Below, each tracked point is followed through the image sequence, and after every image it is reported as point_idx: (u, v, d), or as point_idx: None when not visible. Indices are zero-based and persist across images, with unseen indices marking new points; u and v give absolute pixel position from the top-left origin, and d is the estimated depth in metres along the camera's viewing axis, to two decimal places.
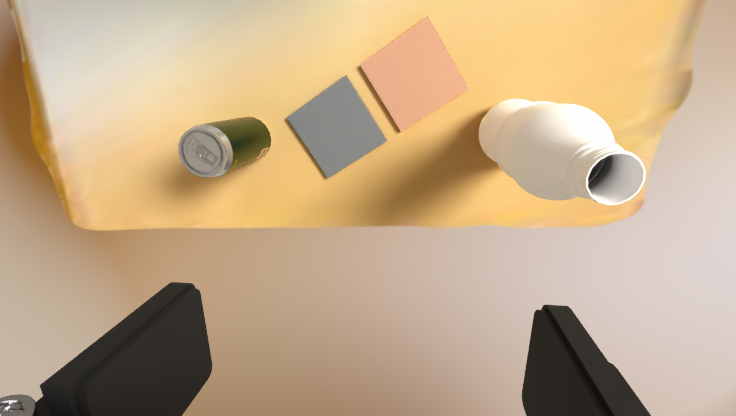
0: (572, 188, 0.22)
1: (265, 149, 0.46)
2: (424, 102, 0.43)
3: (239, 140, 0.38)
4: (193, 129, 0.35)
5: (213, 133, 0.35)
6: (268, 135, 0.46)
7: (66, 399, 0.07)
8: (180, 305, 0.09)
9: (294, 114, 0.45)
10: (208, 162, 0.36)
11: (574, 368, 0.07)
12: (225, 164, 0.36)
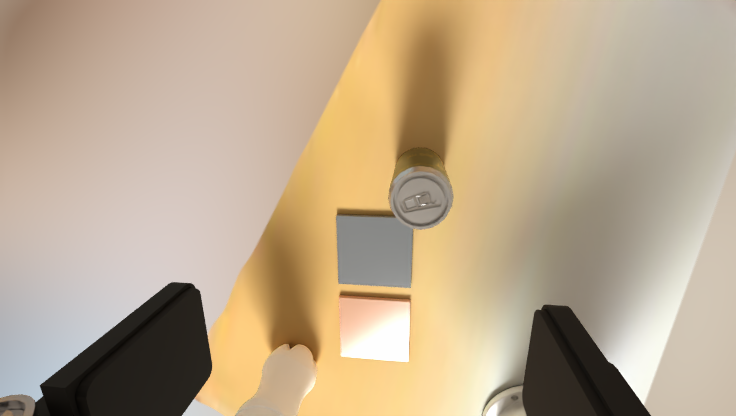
0: None
1: None
2: (350, 326, 0.48)
3: None
4: (447, 211, 0.30)
5: (429, 227, 0.30)
6: None
7: (66, 399, 0.07)
8: (180, 305, 0.09)
9: None
10: (407, 198, 0.30)
11: (574, 368, 0.07)
12: (394, 213, 0.31)
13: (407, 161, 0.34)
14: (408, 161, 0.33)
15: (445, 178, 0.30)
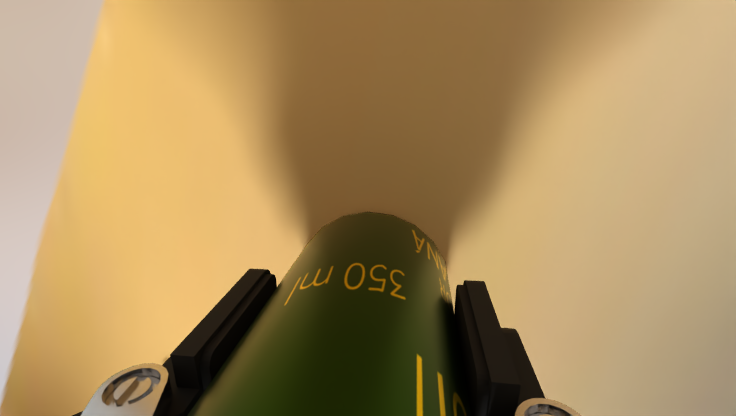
0: None
1: None
2: None
3: None
4: None
5: None
6: None
7: (192, 367, 0.07)
8: (263, 289, 0.10)
9: None
10: None
11: (470, 328, 0.08)
12: None
13: (256, 351, 0.06)
14: (254, 360, 0.06)
15: None
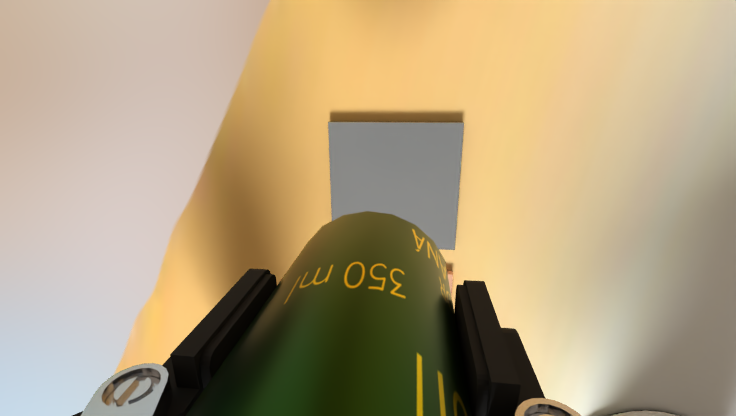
0: None
1: None
2: None
3: None
4: None
5: None
6: None
7: (192, 367, 0.07)
8: (263, 289, 0.10)
9: (459, 139, 0.24)
10: None
11: (470, 329, 0.08)
12: None
13: (255, 349, 0.06)
14: (253, 359, 0.06)
15: None
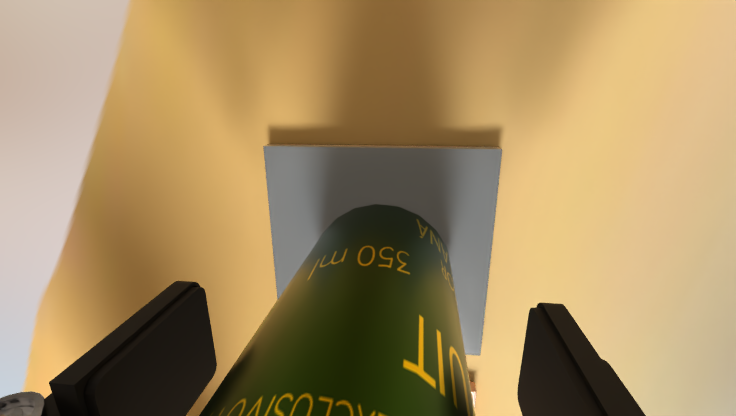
0: None
1: None
2: None
3: None
4: None
5: None
6: None
7: (75, 396, 0.07)
8: (185, 304, 0.09)
9: (493, 178, 0.14)
10: None
11: (567, 364, 0.07)
12: None
13: (287, 313, 0.08)
14: (287, 319, 0.07)
15: None
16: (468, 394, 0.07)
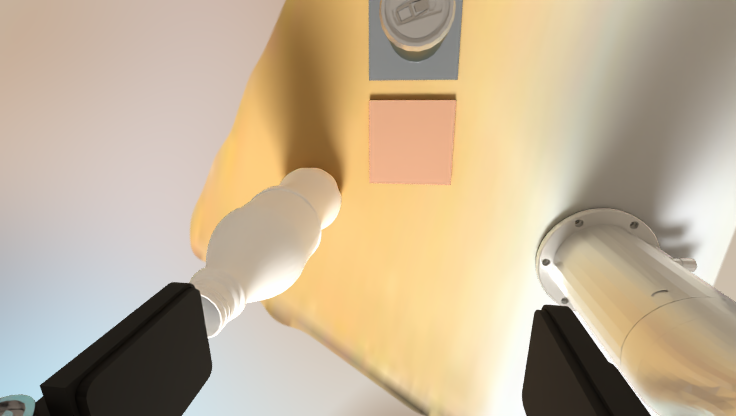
0: (207, 271, 0.21)
1: (392, 46, 0.35)
2: (382, 139, 0.40)
3: (408, 53, 0.29)
4: (449, 18, 0.25)
5: (428, 42, 0.26)
6: (405, 59, 0.36)
7: (66, 399, 0.07)
8: (180, 305, 0.09)
9: None
10: (401, 6, 0.25)
11: (574, 368, 0.07)
12: (386, 28, 0.26)
13: None
14: None
15: None
16: None
